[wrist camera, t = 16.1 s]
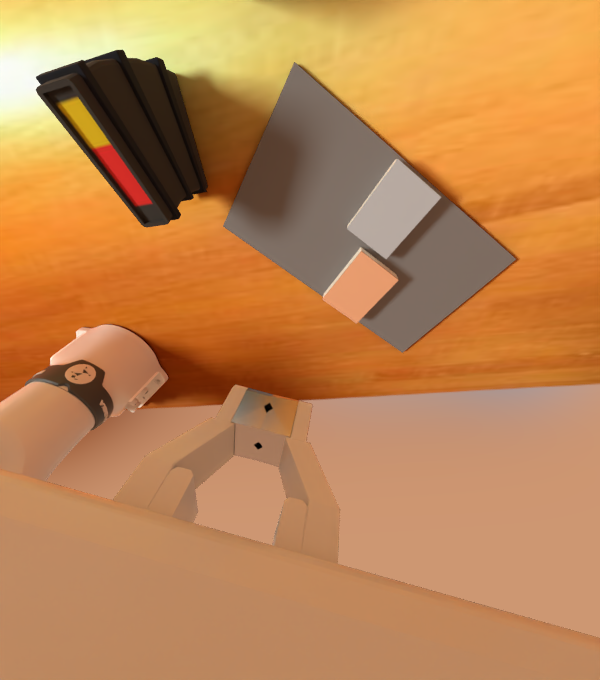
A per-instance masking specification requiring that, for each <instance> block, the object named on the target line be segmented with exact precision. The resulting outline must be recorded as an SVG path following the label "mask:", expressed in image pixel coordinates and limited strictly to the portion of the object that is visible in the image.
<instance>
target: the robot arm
mask: <svg viewBox="0 0 600 680" xmlns="http://www.w3.org/2000/svg"><path fill="white" fill-rule="evenodd" d="M76 336H77V338H76V339H75V340H74V341H72V342H71V343H69V344H68V345H67V346H65V347H64V348H63V349H61V350H60V351H58V352H57V353H56V354H54V355H53V356H52V357H51V358H50V360H51V361H50V365H51V366H49V367H47V368H46V369H44V370H43V371H40V372H38V373H37V374H35V375H34V376H33V377H32V378H31V379H30V380H28V381H27V382H26V384H25V387H23V388H22V389H20V390H19V391H17V392H16V393H14V394H12V395H11V396H9V397H8V398H6V399H5V400H3V401H2V402H0V680H600V638H598V637H595V636H591V635H588V634H584V633H581V632H577V631H574V630H570V629H567V628H563V627H560V626H556V625H552V624H549V623H545V622H542V621H538V620H535V619H531V618H527V617H524V616H521V615H517V614H514V613H510V612H506V611H503V610H499V609H496V608H492V607H489V606H485V605H482V604H478V603H475V602H471V601H467V600H464V599H461V598H457V597H453V596H450V595H446V594H443V593H439V592H436V591H432V590H428V589H425V588H422V587H418V586H414V585H411V584H407V583H404V582H400V581H397V580H393V579H390V578H386V577H383V576H379V575H376V574H372V573H368V572H365V571H361V570H358V569H354V568H351V567H347V566H344V565H340V564H338V547H339V523H340V508H339V506H338V504H337V502H336V499H335V497H334V495H333V493H332V491H331V488H330V486H329V484H328V482H327V480H326V477H325V475H324V473H323V470H322V468H321V466H320V464H319V462H318V459H317V457H316V455H315V453H314V450H313V448H312V446H311V444H310V443H308V442H306V440H307V434H308V429H309V422H310V417H311V412H312V404H311V403H307V402H303V401H299V400H295V399H291V398H287V397H282V396H278V395H273V394H269V393H265V392H262V391H258V390H255V389H251V388H247V387H243V386H240V385H236V384H235V385H234V386H233V387H232V389H231V391H230V393H229V394H228V396H227V398H226V400H225V401H224V403H223V405H222V407H221V409H220V411H219V412H218V414H217V416H216V418H212V417H211V418H209V419H207V420H206V421H204V422H202V423H201V424H199V425H197V426H195V427H194V428H192V429H190V430H189V431H187V432H185V433H183V434H182V435H180V436H178V437H177V438H175V439H173V440H171V441H170V442H168V443H167V444H165V445H163V446H161V447H159V448H158V449H156V450H154V451H153V452H151V453H149V454H147V455H146V456H145V457H144V458H143V459H142V461H141V462H140V463H139V465H138V466H137V468H136V469H135V470H134V472H133V473H132V474H131V476H130V477H129V478H128V480H127V481H126V482H125V484H124V485H123V487H122V488H121V489H120V491H119V492H118V493H117V495H116V496H115V497H114V499H113V500H110V499H107V498H103V497H99V496H96V495H92V494H88V493H85V492H82V491H78V490H75V489H71V488H68V487H64V486H61V485H57V484H53V483H50V482H46V480H47V479H48V477H49V476H50V474H51V473H52V472H53V470H54V469H55V468H56V467H57V466H58V464H59V463H60V462H61V461H62V460H63V459H64V457H65V456H66V455H67V454H68V453H69V452H70V451H71V450H72V449H73V447H74V446H75V445H76V444H77V443H78V442H79V441H80V440H81V439H82V438H83V437H84V436H85V435H86V434H87V433H88V432H89V431H91V430H94V429H95V428H97V427H98V426H100V425H101V424H102V423H104V421H106V419H107V418H109V417H115V416H119V415H120V414H121V413H122V412H123V411H124V410H125V409H127V410H129V411H131V412H134V411H135V410H136V409H137V408H140V407H141V406H143V405H144V404H145V403H146V402H147V401H148V400H149V399H150V398H151V396H152V395H153V394H154V393H155V392H156V391H157V390H158V389H159V388H160V387H161V386H162V385H163V384H164V383H165V382H166V381H167V380H168V375H167V374H166V373H165V371H164V370H163V369H162V368H161V367H160V365H159V362H158V360H157V357H156V356H155V354H154V352H153V351H152V349H151V348H150V347H149V346H148V345H147V344H146V343H145V342H144V341H143V340H142V339H141V338H140V337H138V336H137V335H135V334H134V333H132V332H130V331H129V330H126V329H124V328H122V327H119V326H115V325H101V326H98V327H95V328H80V329H79V330H77V331H76ZM298 402H299V403H298ZM233 455H236V456H240V457H245V458H249V459H253V460H257V461H261V462H264V463H267V464H271V465H274V466H277V467H279V471H280V475H281V479H282V483H283V487H284V490H285V494H286V498H287V499H286V500H285V501H284V504H283V508H282V511H281V514H280V518H279V521H278V525H277V528H276V531H275V535H274V540H273V544H272V545H269V544H266V543H262V542H259V541H255V540H251V539H248V538H245V537H241V536H237V535H234V534H230V533H227V532H223V531H220V530H216V529H213V528H209V527H206V526H202V525H199V524H195V523H193V522H194V520H195V518H196V515H197V513H198V508H197V500H196V493H195V489H196V488H197V487H198V486H200V485H201V484H202V483H203V482H204V481H206V480H207V479H208V478H209V477H210V476H211V475H213V474H214V473H215V472H216V471H217V470H218V469H219V468H221V467H222V466H223V465H224V464H225V463H226V462H227V461H229V460H230V459H231V458H232V457H233Z"/></svg>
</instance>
